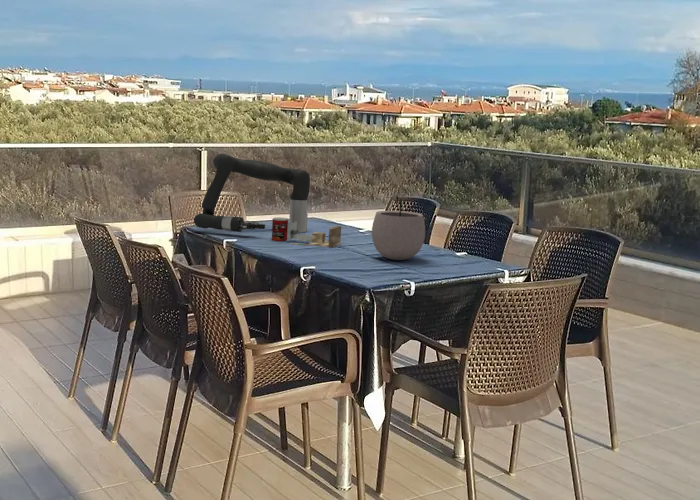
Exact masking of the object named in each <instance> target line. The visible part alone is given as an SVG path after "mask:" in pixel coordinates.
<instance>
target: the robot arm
mask: <svg viewBox="0 0 700 500" xmlns="http://www.w3.org/2000/svg"><path fill="white" fill-rule="evenodd" d="M212 163H213V167H214V168H215V169H216V171H215V175H214V177H213V181H212V182H211V184H210V185H209V187H208V189H207V190H206V192H205V195H204V197H203V200H202V203H201V208H202V213H198V214H196V215H195V216H194V218H193V223H194V225H195V226H196V227H198V228H202V229H215V230H219V231H220V230H221V231H226V232H227V231H228V232H234V233H235V232H237V233H241V232H242V231H243V230H257V229H258V230H265V229H266V224H265V223H264V224H263V223H259V222H256V221H250V220H244V218H243V217H242V216H234V215H233V216H232V215H228V216H227V215H215V210H216V207H217V204H218V203H219V202H218V201H219V199H220V197H221V194H222V191H223V189H224V186H225V184H226V182H227V180H228V178H229V176H230V174H231V173H236V174H237V173H238V174H241V175H244V176H247V177H249V178H253V179H257V180H262V181H271V182H272V181H273V182H282V183H285V184H290V185H292V187H293V188H292V192H291V194H290V199H289V218H288V223H290V222H293V221H297V230H298V233H306V232H308V215H309V214H308V198H309V194H310V187H311V186H310V185H311V176H310V173H309V172H308V171H306V170H304V169H300V168H289V167H287V168H285V167H282V166H280V165H279V166H278V165H277V164H273V163H270V162H266V161H260V160H255V159H246V158H245V159H244V158H238V157H234V156H231V154H230V155H229V154H226V153H220V154H217V155H216V156H215V157H214V158H213V162H212Z"/></svg>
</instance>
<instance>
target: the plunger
mask: <svg viewBox="0 0 700 500" xmlns="http://www.w3.org/2000/svg"><path fill="white" fill-rule="evenodd" d="M287 240H298V241H301V240H309V241H308V242H311V241H312V234H304V233H299V232H298V230H297V221H293V222H290V223H289V222H288V228H287Z"/></svg>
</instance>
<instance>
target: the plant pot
mask: <svg viewBox="0 0 700 500" xmlns="http://www.w3.org/2000/svg"><path fill="white" fill-rule="evenodd" d="M405 195H406V194H405V193H404V194H403V195H402V198H400V197H399V196H398V195H397V194H396V202H397V204H399V210H379V211H376V213H375V216H374V219H373V220H372V221H373V223H372V226H371V238H372V242H373V245H374V248H375V250H376V251H377V252H378V253H379V254H380V255H381V256H382V257H384V258H386V259H389V260H393V261H405V260H409V259H411V258H413V257H415V256H416V255H417V254H418V253H419V252H420V251H421V249H422V247H423V244H424V242H425V239H426V225H425V218H424V215H423V214H422V213H418V212H413V211H405V210H403V211H402V200H403V198H404V196H405ZM399 199H400V201H399Z"/></svg>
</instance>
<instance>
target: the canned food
mask: <svg viewBox="0 0 700 500" xmlns="http://www.w3.org/2000/svg"><path fill="white" fill-rule="evenodd" d="M288 223H289V218H288V217H281V216H280V217H272V225H271V227H272V229H271V240H272V241H273V242H287V241H288V239H287V228H288Z"/></svg>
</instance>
